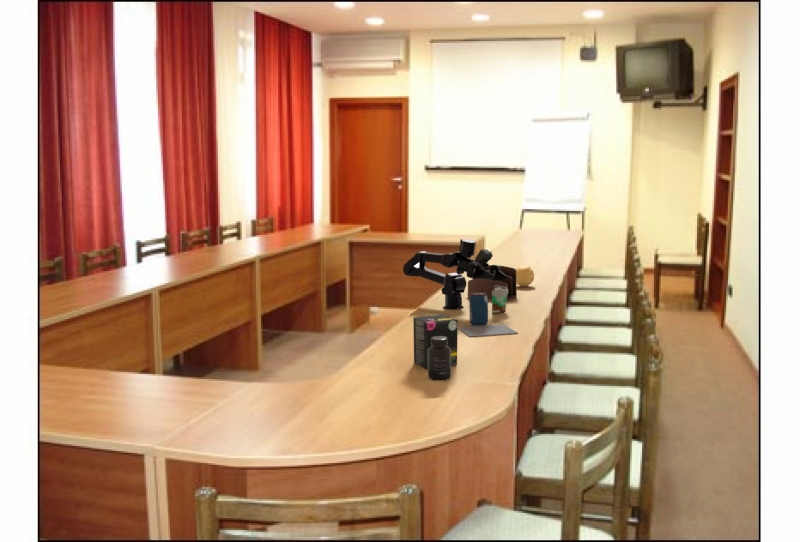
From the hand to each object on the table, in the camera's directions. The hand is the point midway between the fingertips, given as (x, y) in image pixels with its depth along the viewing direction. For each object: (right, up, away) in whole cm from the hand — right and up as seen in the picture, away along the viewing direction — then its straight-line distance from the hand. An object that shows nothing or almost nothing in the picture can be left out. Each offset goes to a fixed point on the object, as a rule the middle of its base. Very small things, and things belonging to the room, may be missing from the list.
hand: (500, 277), depth 301 cm
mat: (-8, -19, -21) cm, 30 cm away
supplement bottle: (-28, -29, -78) cm, 87 cm away
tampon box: (-29, -27, -64) cm, 75 cm away
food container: (+1, -14, +11) cm, 18 cm away
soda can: (-10, -18, -12) cm, 24 cm away
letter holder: (+2, -10, +44) cm, 45 cm away
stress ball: (+20, -5, +68) cm, 72 cm away
